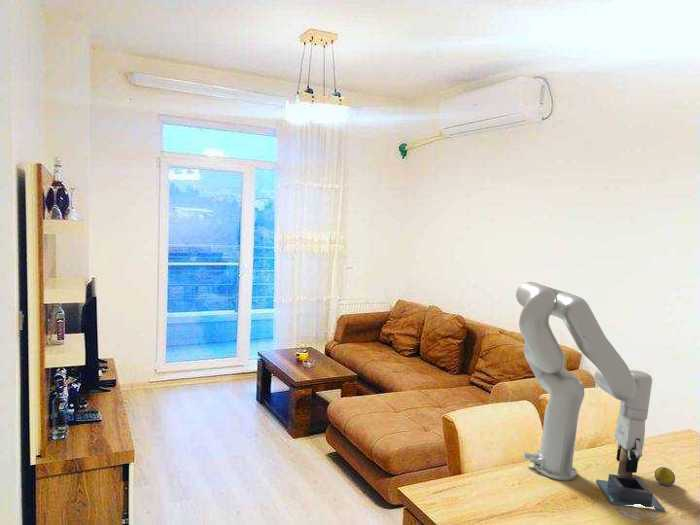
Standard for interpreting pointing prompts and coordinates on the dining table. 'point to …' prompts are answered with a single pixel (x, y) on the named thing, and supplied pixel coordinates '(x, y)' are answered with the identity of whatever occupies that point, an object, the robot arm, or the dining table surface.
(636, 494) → the grey square peg hole
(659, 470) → the yellow grooved cone part
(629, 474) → the walnut rod
